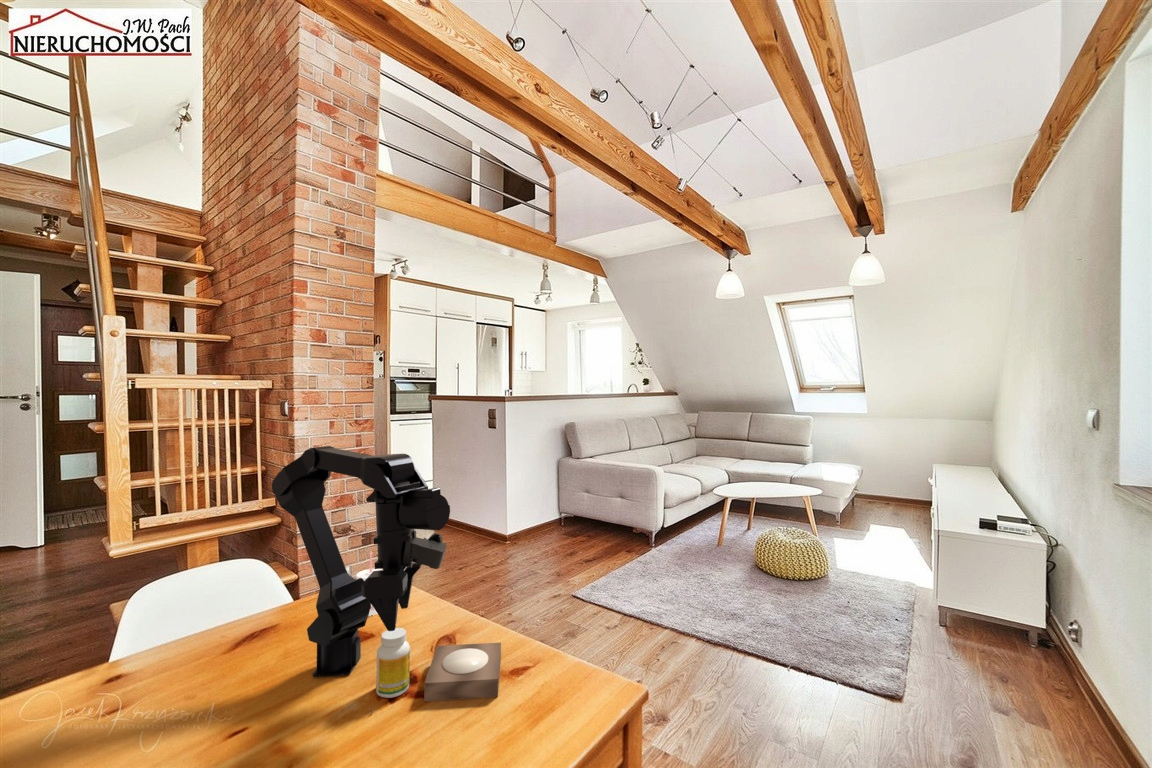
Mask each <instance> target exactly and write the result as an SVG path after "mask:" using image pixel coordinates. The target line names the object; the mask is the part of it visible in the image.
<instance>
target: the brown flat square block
mask: <svg viewBox="0 0 1152 768" xmlns="http://www.w3.org/2000/svg"><path fill="white" fill-rule="evenodd" d="M501 660H502V642H485V643H481V642H480V643H468V644H467V643H466V644H445V645H444V644H443V645H436V648H435V650H434V654H433V656H432V660H431V663H430V666H429V669H428V672H427V675H426V678H425V681H424V683H423V684H424V688H423V690H424V694H423V696H424V699H423V701H424V702H440V701H441V702H442V701H454V700H455V701H456V700H471V699H486V698H487V699H488V698H498V696H499V688H500V687H499V684H500V674H501V673H500V671H501V664H502V663H501Z"/></svg>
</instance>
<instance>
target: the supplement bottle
mask: <svg viewBox="0 0 1152 768" xmlns="http://www.w3.org/2000/svg"><path fill="white" fill-rule="evenodd" d="M380 636H381V638H380V643H381V644H380V645H379V647H378V648H377V651H376V670H375V671H376V676H375V677H376V679H375V690H376V691H375V692H376V694H377V695H378V696H379V697H380V698H386V699H387V698H388V699H392V698H395V697H396V698H397V697H399V696H401V695H402V694H404V693H405V692H406V691H408V688H410V687H409V686H410V664H411V661H410V659H411V647H410V643H409V642H408V641H407V631H406V629H404V628H403V627H402V628H401V627H396V628H395V630H394V631H388V630H387V629H386V630H385V631H383V632H382V633H381V635H380Z"/></svg>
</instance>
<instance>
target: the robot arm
mask: <svg viewBox="0 0 1152 768" xmlns="http://www.w3.org/2000/svg"><path fill="white" fill-rule="evenodd" d="M332 473H335V474H341V475H344V476H349V477H353V478H357V479H359V480H360V481H361V483H362V485H364V486H366V487H368V488H371V490H373V491H372V492H371V494H369V495H368V496H367V497H366V498H365V499H366V502H367V503H375V504H374V505H375V524H376V525H375V526H376V536H374V537H373V540H372V541H373V545H376V546H377V560H376V561H375V562H374V569H383V570H379V571H373V572H372V573H371V574H370V575H369V577H368V578H367V579H366V580H365V581H364V580H363V579H362V578H359V579H356V578H354V577H352V576H351V575H350V574H349V573H348V571H347V570H348V569H347V568H346V565H345V563H344V559H343V557H342V555H341V553H340V549H339V546H338V544H337V541H336V539H335V536H334V533H333V531H332V529H331V526H330V523H329V521H328V518H327V515H326V513H325V512H326V511H325V509H324V507H323V502H324V499H325V495H326V492H327V491H326V489H327V488H326V485H325V484H326V482H327V480H329V479H330V478H331V475H332ZM425 481H426V480H425V479H424V478H423V476H422V475H421V473H420V472H419V470H418V468H417V467H416V465H415V464H414V462H413V459H412V456H410V455H409V454H407V453H392V454H391V453H389V454H378V455H376V454H375V455H372V454H369V453H368V454H366V453H362V452H357V451H356V452H355V451H351V450H347V449H341V448H336V447H334V446H331V445H323V446H316V447H315V446H314V447H309V448H308V449H306V450H305V451H304V452H303V453H302V454H301V455H300V456H299V457H298V458H296V459H295V460H293V461H291V462H290V463H288V464H286V465H285V466H284V467H283V468H282V469H281V470H280V471H279V472H278V473H277V474H276V475H275V477H274V478H273V480H272V482H271V490H272V492H273V494H274V497H275V498H276V500H277V503H278V505H279V506H280V508H282V509H283V510H284V511H285V512H287V513H288V514H290V515H291V516H292V517H294V519H295V522H296V525H297V528H298V531H299V533H300V536H301V539H302V541H303V544H304V547H305V551H306V552H307V555H308V557H309V560H310V564H311V567H312V570H313V571H314V575H315V578H316V580H317V583H318V586H319V590H318V591H319V592H318V595H317V601H316V605H315V609H316V611H317V617H316V618H315V619H314V620H313V621H312V622H311V624H310V625H309V626H308V627H307V628H306V631H307V637H308V640H309V642H312V643H314V644H316V668H315V670H314V671H313V672H312V678H322V677H339V676H341V677H342V676H343V677H344V676H350V675H352V672H353V670H354V668H355V667H356V666H357V665H358V663H359V662H360V659H362V657H361V652H362V651H361V649H362V646H361V645H362V640H361V639H362V638H361V637H360V636H359V629H361V628H363V627H365V626H366V623H367V620H368V617H369V616H368V615H369V611H370V609H371V604H372V606H373V607H374V609H375V610H376V612H377V613H378V614H377V615H378V617H379V618H380V619H381V621H382V623H383V625H384V627H385V628H386V631H387V630H388V631H394V630H395V628H397V622H398V621H397V619H398V612H399V611H398V610H399V607H400V608H401V609H402V610H404V609H405V610H406V609H408V608H409V602H410V598H411V592H412V586H413V580H414V575H416V573H418V571H419V570H420V568H421V567H422V566H426V567H429V568H430V569H433V570H438V569H440V567H441V565H442V563H443V561H444V560H443V559H444V556H445V553H446V550H447V542H443V536H442V534H441V533H437V532H433V533H432V534H431V535H430V536H429V537H428V538H426V537H423V538H421V537H417V530H424V531H441V530H442V529H443V528H444V527H445V526H447V524H448V521H449V519H450V514H451V506H450V504H449V502H448V499H447V498H446V497H445V496H443V495H442V493H441V488H440V487H432V488H429V486H428V485H427V483H426V482H425Z"/></svg>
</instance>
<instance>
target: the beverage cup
mask: <svg viewBox="0 0 1152 768" xmlns="http://www.w3.org/2000/svg"><path fill="white" fill-rule="evenodd" d="M379 570H383V568H381V569H375V568H373V550H370V551H369V568H368V569H367V568H366V569H364V570H360V571H359V572H357V573H356V575H355V576H356V578H355V580H356V579H359V578H362V579H363V580H364V581H365V580H366V579H367V578H368V577H369V575H370V574H371V573H372V572H373V571H379ZM375 614H376V615H378V614H377V612H376V610H375V609H374V607H373V606H372V604H371V609H370V611H369V615H368V617H372V616H371V615H373V616H375Z"/></svg>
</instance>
